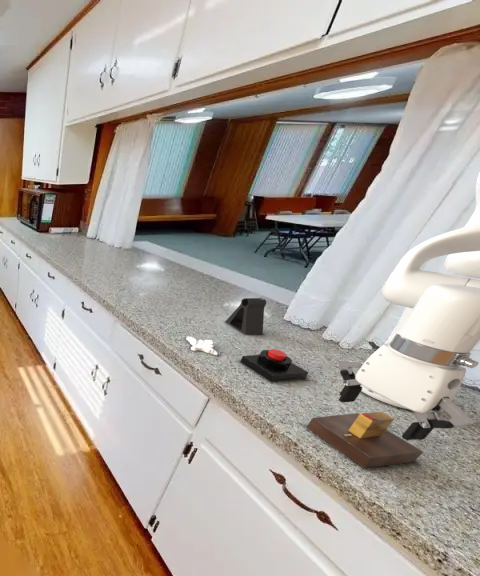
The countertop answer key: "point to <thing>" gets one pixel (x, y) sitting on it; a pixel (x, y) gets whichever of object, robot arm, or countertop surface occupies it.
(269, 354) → the button
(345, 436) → the plate
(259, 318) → the phone stand
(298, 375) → the black button base
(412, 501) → the countertop surface
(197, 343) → the acanthus leaf ornament
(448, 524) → the countertop surface
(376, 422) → the block
